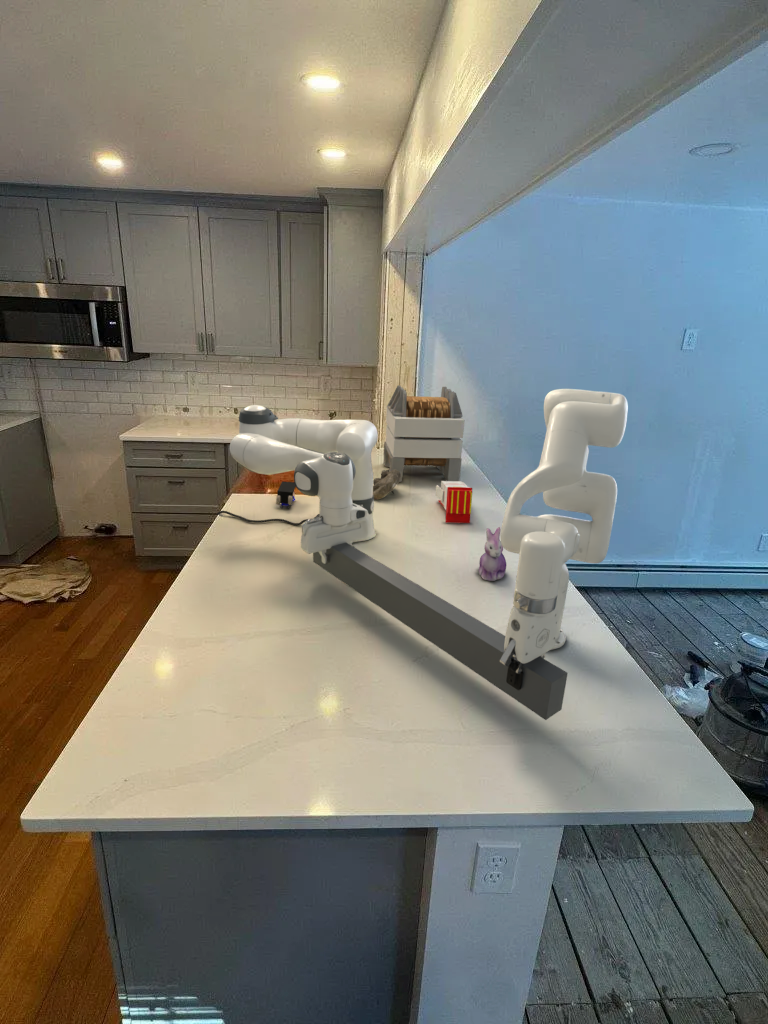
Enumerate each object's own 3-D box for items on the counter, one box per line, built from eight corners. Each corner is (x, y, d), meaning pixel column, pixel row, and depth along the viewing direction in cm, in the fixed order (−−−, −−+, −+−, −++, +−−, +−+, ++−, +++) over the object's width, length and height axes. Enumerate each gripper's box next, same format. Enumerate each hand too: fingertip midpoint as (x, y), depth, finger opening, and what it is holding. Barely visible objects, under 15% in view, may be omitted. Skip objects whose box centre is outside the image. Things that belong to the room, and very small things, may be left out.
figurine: (489, 584, 165) (495, 537, 160) (469, 570, 174) (474, 524, 169) (515, 579, 169) (521, 532, 164) (493, 565, 178) (499, 520, 173)
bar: (313, 561, 162) (312, 534, 159) (327, 557, 165) (326, 531, 162) (545, 720, 104) (551, 682, 101) (561, 709, 107) (567, 672, 104)
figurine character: (293, 513, 218) (297, 497, 231) (292, 495, 215) (297, 480, 228) (275, 513, 218) (281, 496, 231) (274, 495, 214) (280, 479, 228)
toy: (463, 477, 237) (476, 489, 207) (461, 508, 239) (474, 524, 210) (434, 476, 236) (443, 488, 207) (432, 507, 239) (441, 523, 210)
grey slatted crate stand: (382, 463, 289) (386, 382, 275) (445, 464, 293) (451, 384, 279) (390, 482, 257) (394, 392, 243) (460, 483, 261) (468, 394, 247)
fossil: (369, 475, 252) (396, 457, 247) (382, 491, 255) (409, 474, 250) (363, 495, 232) (392, 476, 227) (377, 513, 235) (406, 494, 230)
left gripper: (308, 524, 144) (308, 573, 149) (372, 509, 156) (370, 555, 161) (295, 517, 148) (296, 564, 153) (359, 503, 160) (358, 547, 165)
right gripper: (521, 623, 96) (509, 709, 102) (580, 593, 105) (565, 673, 112) (487, 604, 101) (478, 687, 108) (546, 577, 111) (534, 655, 118)
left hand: (335, 559), depth 157 cm, fingers closed on bar, 5 cm apart
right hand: (523, 679), depth 110 cm, fingers closed on bar, 4 cm apart
